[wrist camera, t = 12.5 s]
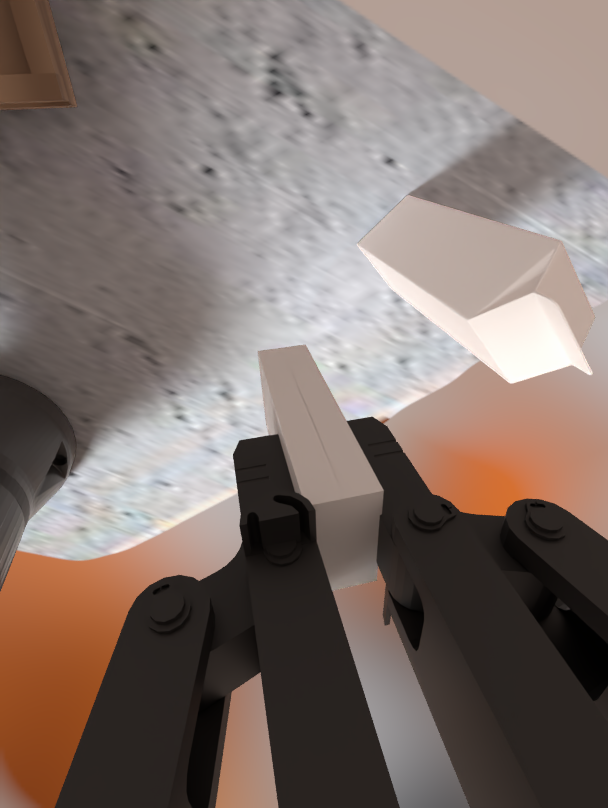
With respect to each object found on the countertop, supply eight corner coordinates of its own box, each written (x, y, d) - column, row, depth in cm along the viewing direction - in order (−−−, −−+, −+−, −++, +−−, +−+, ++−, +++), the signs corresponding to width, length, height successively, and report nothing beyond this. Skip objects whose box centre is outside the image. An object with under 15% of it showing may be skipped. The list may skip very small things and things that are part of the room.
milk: (407, 193, 37) (615, 250, 19) (440, 245, 40) (647, 337, 22) (354, 245, 39) (502, 343, 20) (391, 291, 42) (547, 413, 24)
